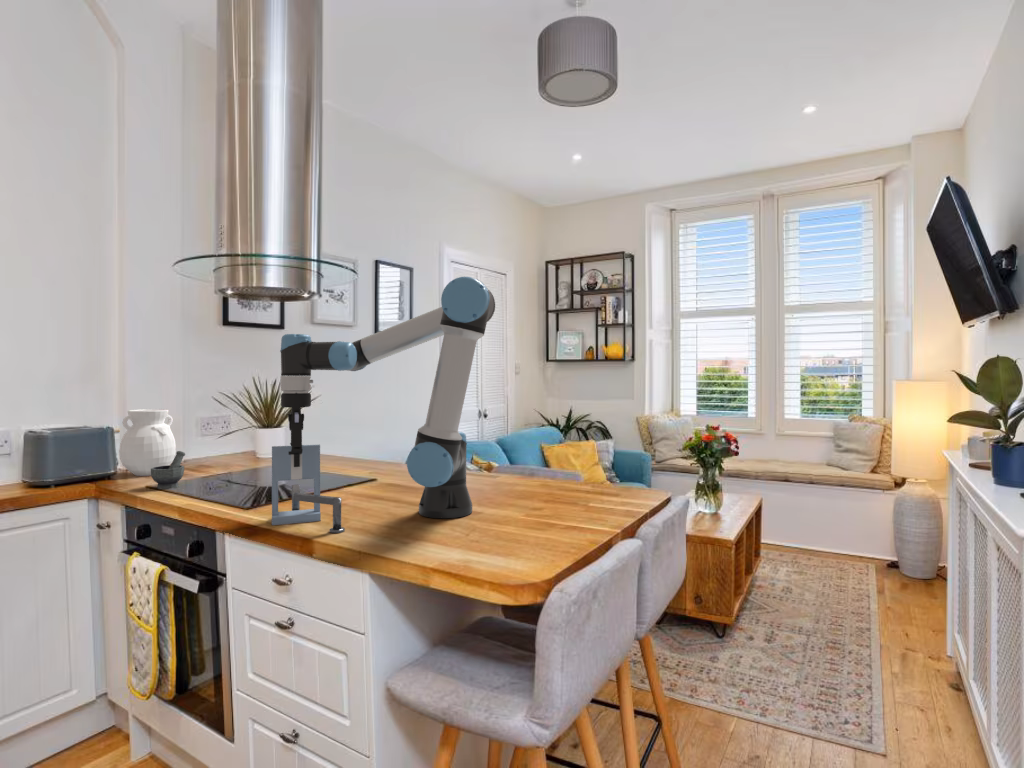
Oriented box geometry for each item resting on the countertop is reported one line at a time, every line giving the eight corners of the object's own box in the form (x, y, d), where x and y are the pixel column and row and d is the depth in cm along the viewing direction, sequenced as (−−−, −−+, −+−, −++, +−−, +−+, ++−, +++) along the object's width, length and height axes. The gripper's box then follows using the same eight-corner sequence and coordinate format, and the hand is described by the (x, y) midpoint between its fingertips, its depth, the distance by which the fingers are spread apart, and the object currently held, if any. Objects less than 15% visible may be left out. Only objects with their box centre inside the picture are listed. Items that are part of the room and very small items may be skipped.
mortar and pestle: (164, 491, 188) (163, 455, 187) (144, 488, 191) (144, 453, 191) (194, 485, 198) (193, 450, 198) (175, 483, 201) (174, 449, 201)
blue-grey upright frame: (320, 520, 150) (320, 446, 150) (271, 525, 146) (271, 448, 146) (319, 515, 156) (319, 443, 156) (272, 519, 151) (272, 445, 151)
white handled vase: (163, 468, 232) (163, 407, 232) (184, 473, 222) (184, 409, 221) (111, 474, 217) (110, 410, 217) (131, 480, 207) (131, 412, 206)
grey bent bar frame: (347, 531, 140) (347, 497, 140) (318, 537, 135) (318, 502, 135) (299, 512, 159) (299, 482, 159) (272, 517, 154) (272, 486, 154)
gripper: (313, 393, 142) (313, 482, 142) (309, 391, 162) (309, 468, 162) (280, 393, 139) (280, 484, 139) (281, 391, 159) (281, 470, 160)
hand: (296, 475), depth 151 cm, fingers open, 9 cm apart
